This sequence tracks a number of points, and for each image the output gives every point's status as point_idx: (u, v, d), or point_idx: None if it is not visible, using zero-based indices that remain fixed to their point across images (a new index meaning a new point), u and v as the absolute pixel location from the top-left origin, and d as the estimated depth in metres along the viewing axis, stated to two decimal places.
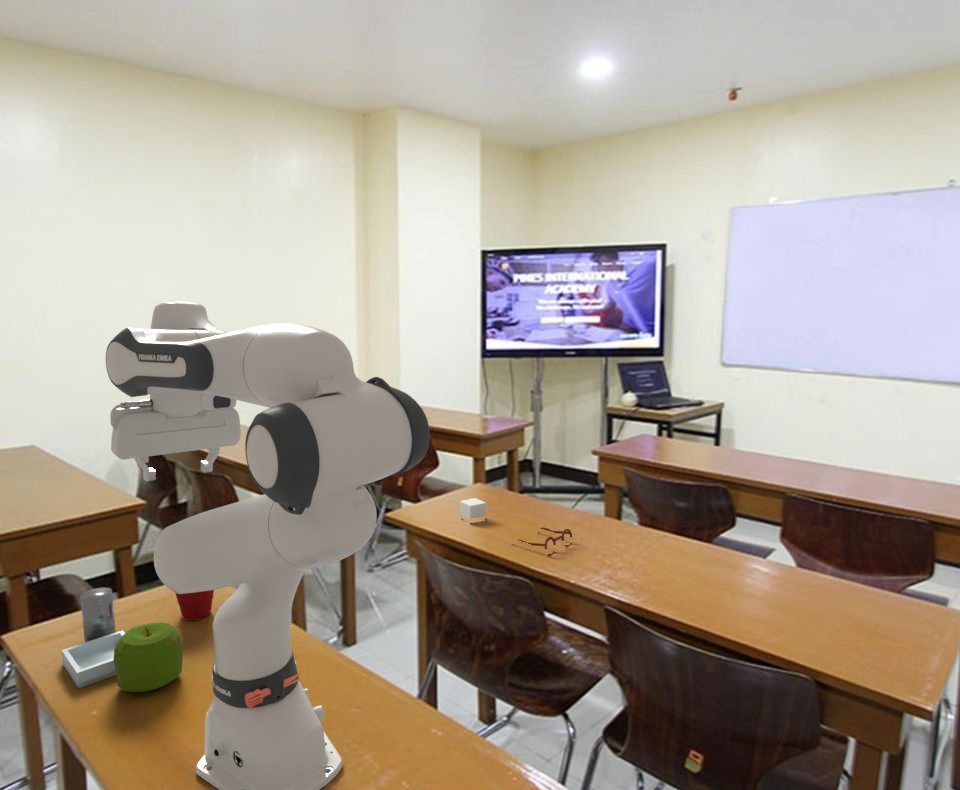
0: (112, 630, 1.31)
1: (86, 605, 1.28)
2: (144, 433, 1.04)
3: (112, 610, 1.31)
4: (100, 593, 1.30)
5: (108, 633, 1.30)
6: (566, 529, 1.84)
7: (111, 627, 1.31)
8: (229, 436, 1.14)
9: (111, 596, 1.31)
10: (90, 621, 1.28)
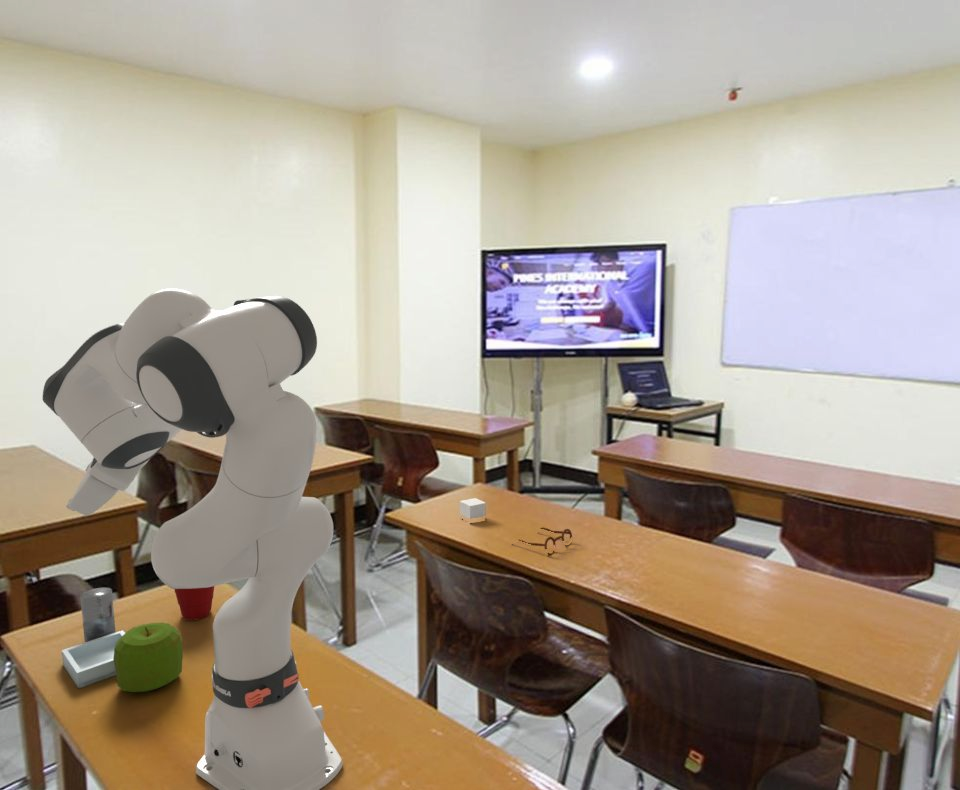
0: (112, 630, 1.31)
1: (86, 605, 1.28)
2: None
3: (112, 610, 1.31)
4: (100, 593, 1.30)
5: (108, 633, 1.30)
6: (566, 529, 1.84)
7: (111, 627, 1.31)
8: None
9: (111, 596, 1.31)
10: (90, 621, 1.28)
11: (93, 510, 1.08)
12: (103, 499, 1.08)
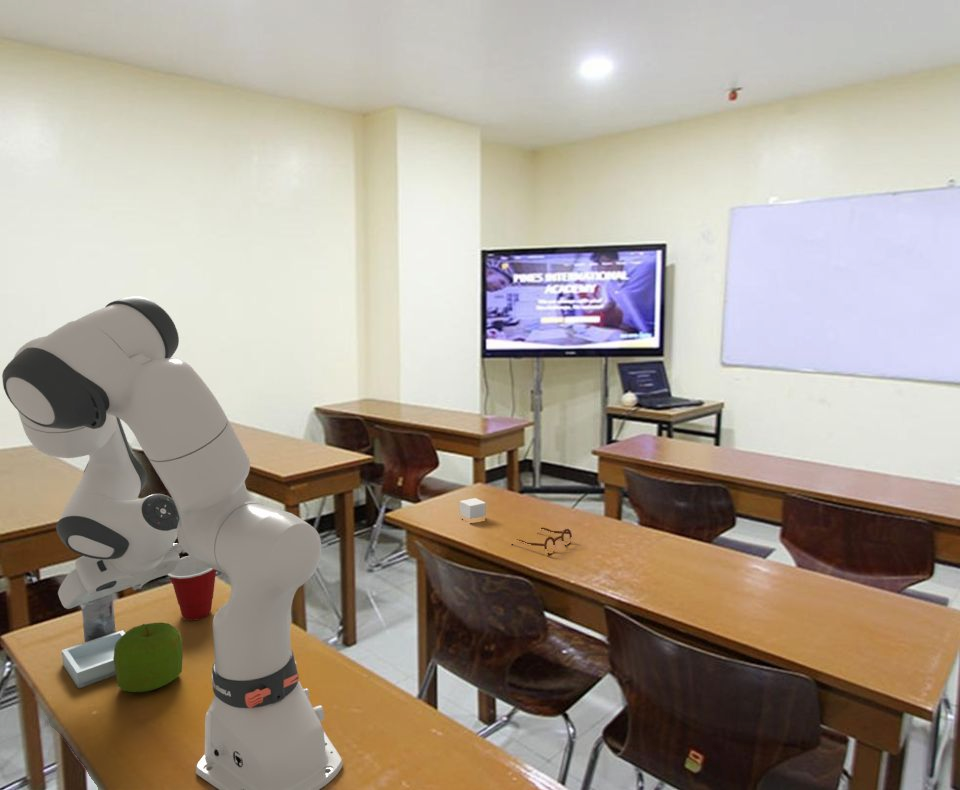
0: (112, 630, 1.31)
1: None
2: None
3: (112, 610, 1.31)
4: None
5: (108, 633, 1.30)
6: (566, 529, 1.84)
7: (111, 627, 1.31)
8: None
9: (111, 596, 1.31)
10: (91, 621, 1.28)
11: (67, 603, 1.12)
12: (73, 594, 1.11)
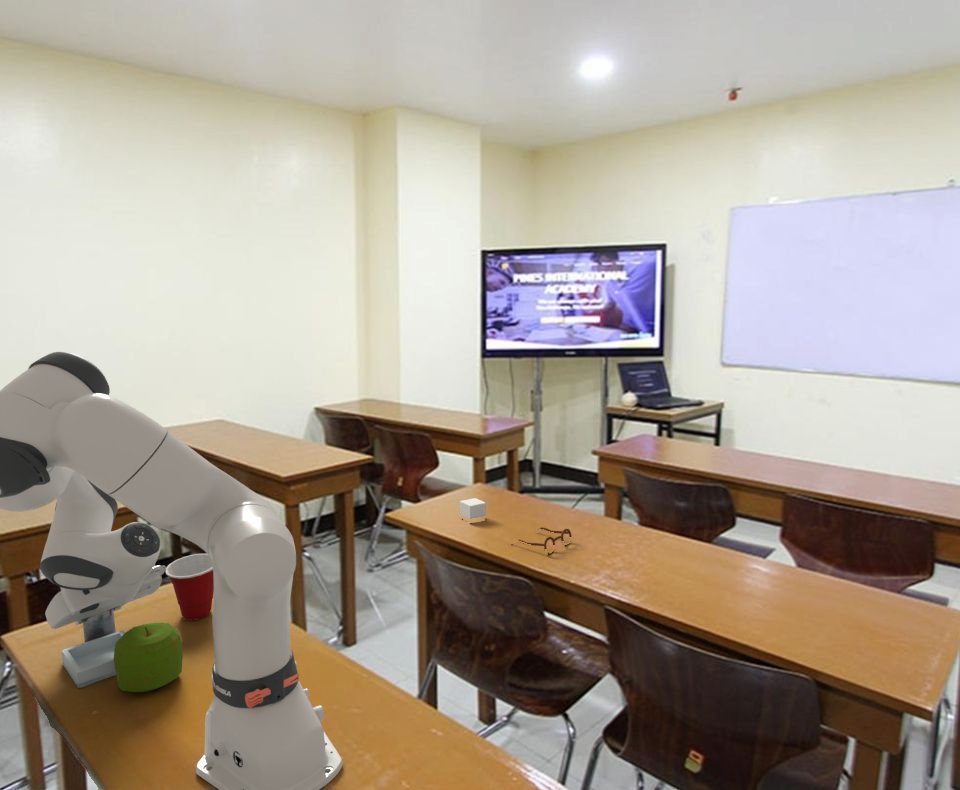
0: (112, 630, 1.31)
1: None
2: None
3: (112, 610, 1.31)
4: None
5: (108, 633, 1.30)
6: (565, 529, 1.84)
7: (111, 626, 1.31)
8: None
9: None
10: (90, 621, 1.28)
11: (53, 624, 1.19)
12: (59, 615, 1.18)
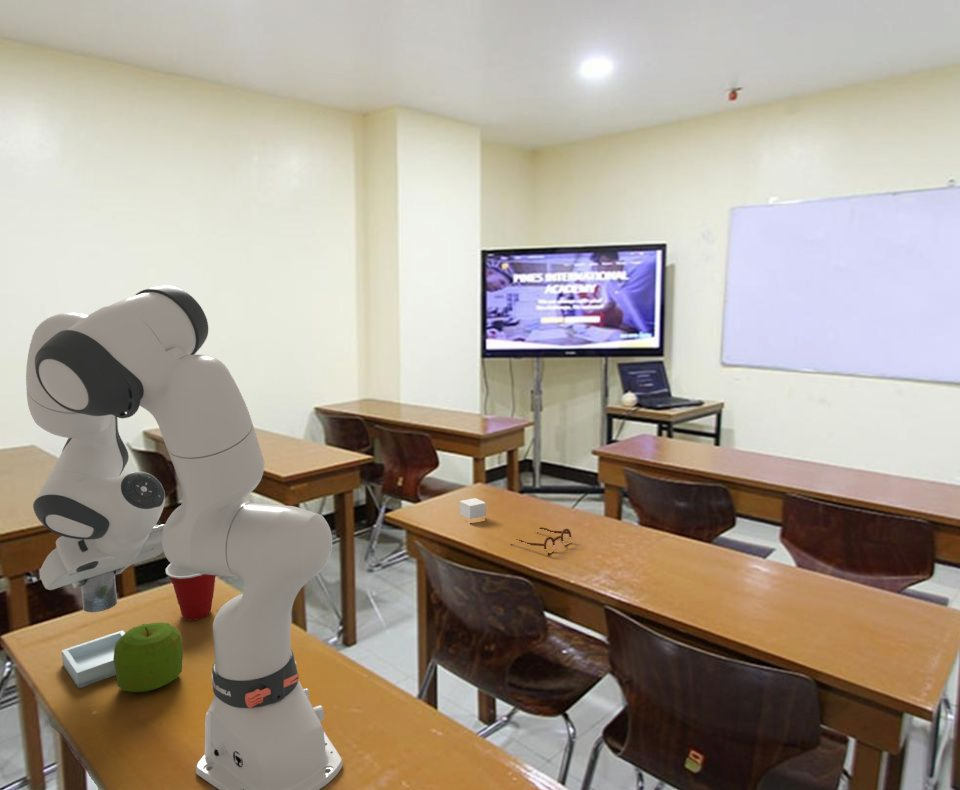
0: (113, 595, 1.21)
1: None
2: None
3: (113, 573, 1.21)
4: None
5: (109, 597, 1.20)
6: (565, 529, 1.84)
7: (111, 591, 1.20)
8: None
9: None
10: (89, 584, 1.18)
11: (48, 584, 1.09)
12: (54, 574, 1.08)
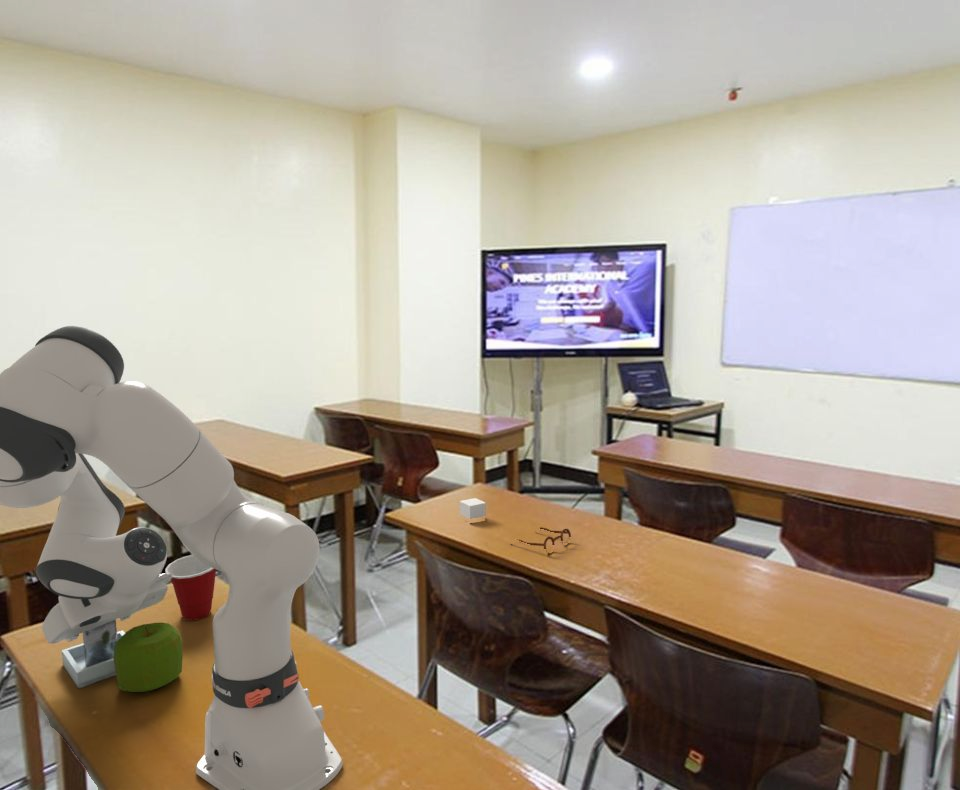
0: None
1: None
2: None
3: (115, 629, 1.22)
4: None
5: (111, 654, 1.21)
6: (565, 529, 1.84)
7: (113, 647, 1.22)
8: None
9: None
10: (92, 642, 1.19)
11: (51, 639, 1.10)
12: (57, 629, 1.09)
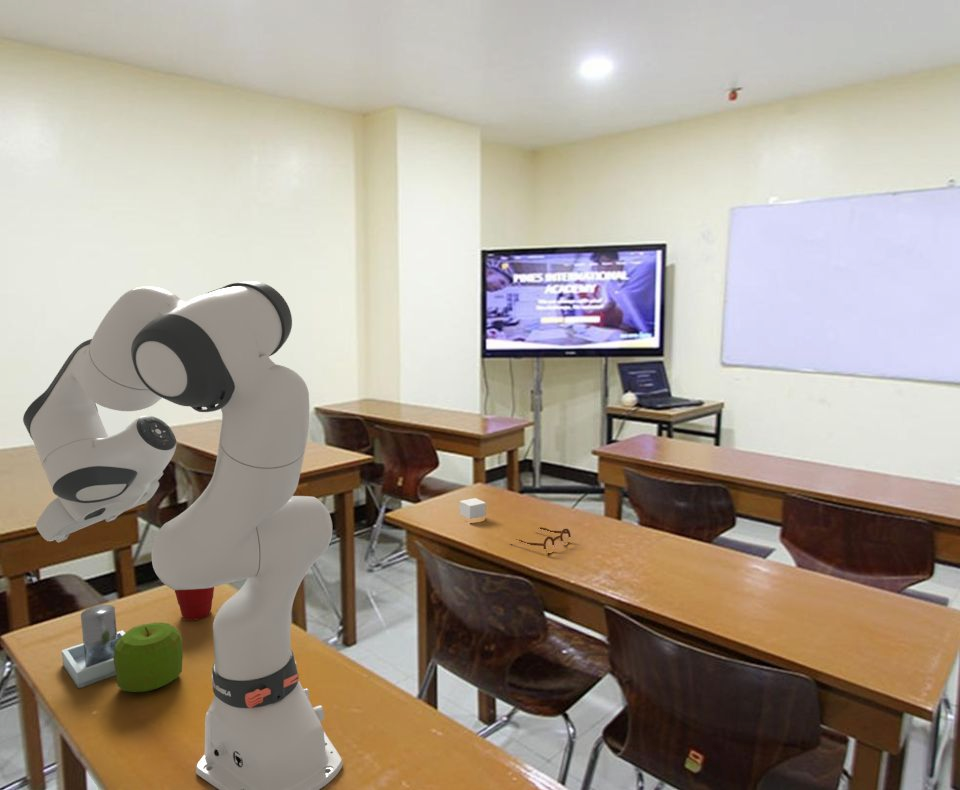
0: None
1: (86, 625, 1.19)
2: None
3: (115, 629, 1.22)
4: (102, 611, 1.21)
5: (111, 654, 1.21)
6: (564, 529, 1.84)
7: (113, 647, 1.22)
8: None
9: (114, 614, 1.22)
10: (92, 642, 1.19)
11: (50, 535, 1.05)
12: (58, 524, 1.04)
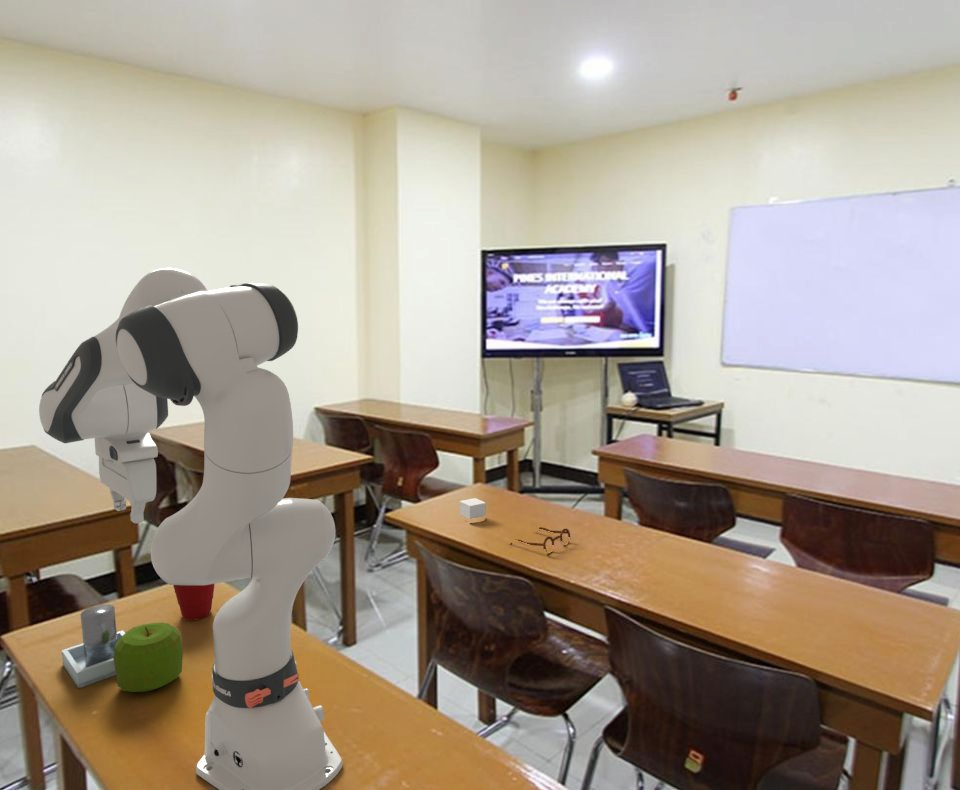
0: None
1: (86, 624, 1.19)
2: (105, 466, 1.22)
3: (115, 629, 1.22)
4: (102, 610, 1.21)
5: (110, 654, 1.21)
6: (564, 529, 1.84)
7: (113, 647, 1.22)
8: (129, 492, 1.12)
9: (113, 614, 1.22)
10: (91, 641, 1.19)
11: (154, 487, 1.13)
12: (151, 471, 1.13)
